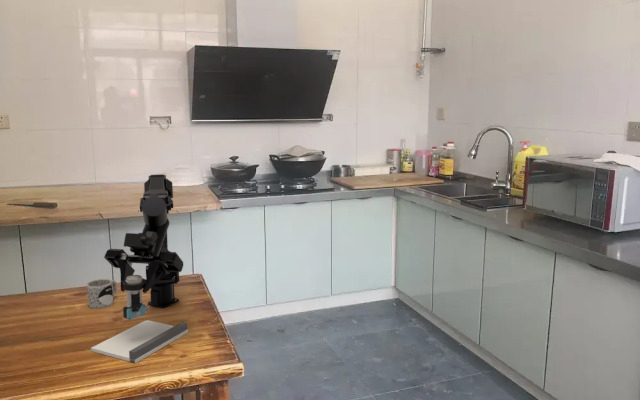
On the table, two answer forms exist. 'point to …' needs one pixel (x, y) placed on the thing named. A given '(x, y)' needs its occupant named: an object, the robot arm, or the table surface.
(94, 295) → the mug
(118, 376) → the table surface
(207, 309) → the table surface
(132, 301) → the push button
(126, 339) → the marker board
